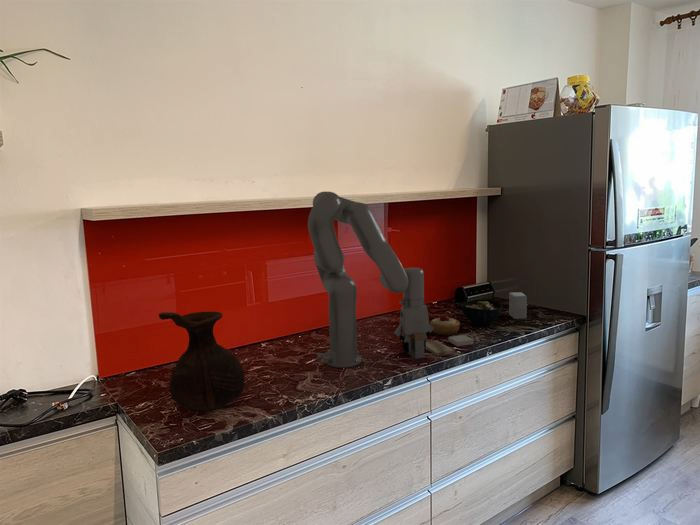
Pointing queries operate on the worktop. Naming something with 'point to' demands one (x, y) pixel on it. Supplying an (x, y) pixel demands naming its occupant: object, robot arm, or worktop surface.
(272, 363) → the worktop surface
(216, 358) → the jug
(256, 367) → the worktop surface
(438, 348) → the board
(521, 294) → the small box
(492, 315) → the bowl
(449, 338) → the tile
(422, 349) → the brown rectangular block
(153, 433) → the worktop surface
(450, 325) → the pastry
